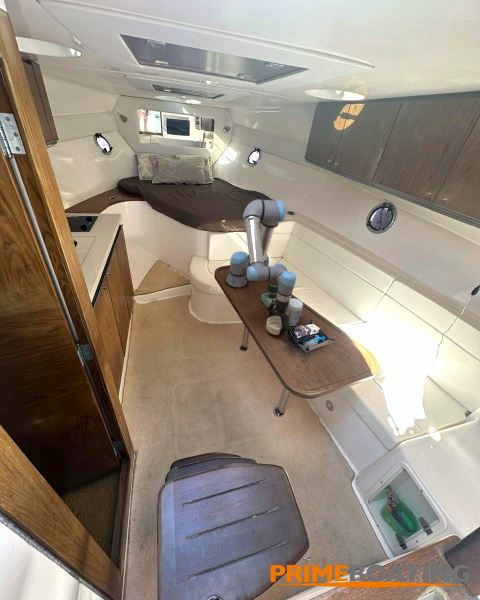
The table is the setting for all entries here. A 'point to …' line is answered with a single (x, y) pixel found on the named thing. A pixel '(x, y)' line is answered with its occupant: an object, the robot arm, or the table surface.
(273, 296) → the brown glass bottle
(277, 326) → the cream ribbed bowl
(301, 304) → the supplement tub
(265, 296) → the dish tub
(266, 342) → the table surface
